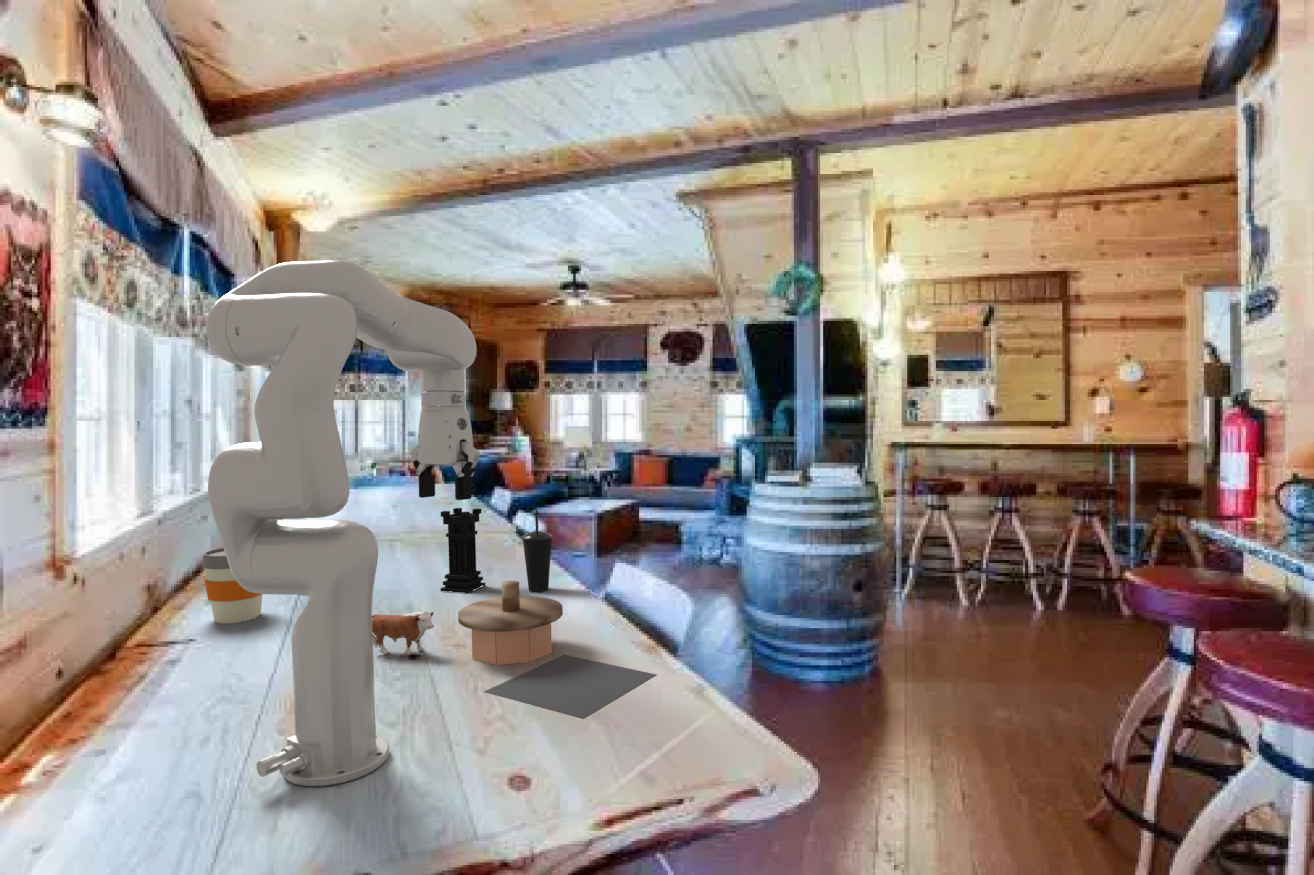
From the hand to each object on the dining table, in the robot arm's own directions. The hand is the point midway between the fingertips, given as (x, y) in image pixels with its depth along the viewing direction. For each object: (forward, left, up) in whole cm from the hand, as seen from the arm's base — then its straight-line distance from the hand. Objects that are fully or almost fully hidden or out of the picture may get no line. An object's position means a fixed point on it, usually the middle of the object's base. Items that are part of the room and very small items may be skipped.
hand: (444, 498), depth 131 cm
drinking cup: (+47, +20, -30) cm, 60 cm away
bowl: (+9, -7, -30) cm, 32 cm away
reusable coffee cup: (-4, +63, -30) cm, 70 cm away
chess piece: (+39, +38, -30) cm, 63 cm away
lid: (+9, -7, -23) cm, 25 cm away
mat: (+2, -27, -30) cm, 40 cm away
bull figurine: (-1, +11, -30) cm, 32 cm away
